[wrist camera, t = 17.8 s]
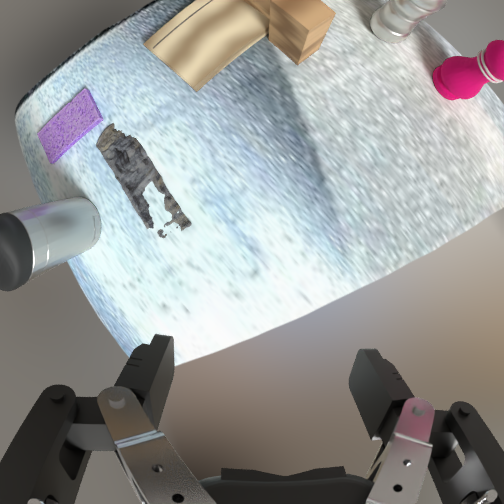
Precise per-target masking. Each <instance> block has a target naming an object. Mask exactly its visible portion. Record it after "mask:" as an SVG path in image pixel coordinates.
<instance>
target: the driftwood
mask: <svg viewBox="0 0 504 504" xmlns="http://www.w3.org/2000/svg"><path fill="white" fill-rule="evenodd" d="M96 146H97V148H98V149H99V150H100V152H101V153H102V155H103V157H104V159H105V160H106V162H107V163H108V165H109V166H110V168H111V169H112V170H113V172H114V174H115V177H116V179H117V180H118V181H119V183H120V184H121V185H122V188H123V190H124V191H125V193H126V195H127V196H128V198H129V200H130V201H131V203H132V205H133V207H134V209H135V210H136V212H137V213H138V215H139V216H140V217H141V218H142V220H143V222H144V224H145V226H146V228H147V229H148V228H153V224H154V223H153V221H152V217H151V216H150V214H149V210H148V208H149V204H148V203H147V202H146V200H145V199H144V196H143V195H142V194H143V192H144V191H145V187H146V186H147V185H148V184H149V183H150V182H151V181H153V183H154V185H155V187H156V188H157V190H158V191H160V192H161V193H162V194H165V198H164V203H165V210H167V211H169V212H170V213H171V214H172V220H171V221H170V222H167V223H166V224H165V225H167V226H168V225H170V224H171V223H173V222H175V223H177V224H179V226H180V227H181V231H182V230H184V229H185V228H186V227H189V226H190V225H191V222H190V221H189V220H188V219H187V218H186V216H185V215H184V214H183V212H182V211H181V208H180V206H179V205H178V204H177V203H176V201H175V200H174V198H173V197H172V195H171V194H170V193H169V191H168V189H167V188H166V186H165V184H164V183H163V179H162V178H161V176H160V175H159V173H158V171H157V170H156V169H155V167H154V165H153V163H152V161H151V160H150V159H149V157H148V156H147V154H146V152H145V150H144V149H143V147H142V146H141V144H140V143H139V142H138V140H137V139H136V138H134V137H131V135H129V136H127V137H126V136H125V134H124V133H122V132H121V131H120V130H118V131H117V130H116V129H114V123H113V124H112V125H110V126H108V128H106V129H105V131H104V132H103V133H102V135H101V136H100V138H99V140H98V142H97V145H96ZM178 211H180V212H179V213H177V212H178ZM165 225H164V227H165ZM177 228H178V227H177ZM157 233H158V234H159V237H162V238H165V237H166V235H167V234H165V236H164V235H162V233H163V230H161V229H160V230H158V232H157Z"/></svg>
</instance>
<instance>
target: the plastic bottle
mask: <svg viewBox="0 0 504 504" xmlns="http://www.w3.org/2000/svg"><path fill="white" fill-rule="evenodd" d="M446 3H447V0H388V1H387V2H386V3H385V4H384V5H383V6H382V7H380V8H379V9H377V10H376V11H375V12H374V13H373V14H372V17H371V20H370V27H371V29H372V31H373V32H374V34H375V35H376V36H377V37H378V38H379V39H381V40H383V41H385V42H388V43H399V42H402V41H404V40H406V39H407V38H408V36H409V35H410V34H411V32H412V30H413V29H414V28H415V26H416V25H417V24H418V23H419V22H420V21H422V20H423V19H425V18H426V17H428V16H429V15H432V14H434V13H436V12H438V11H440V10H441V9H443V8H444V7H445V5H446Z"/></svg>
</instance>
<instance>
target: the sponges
mask: <svg viewBox="0 0 504 504" xmlns="http://www.w3.org/2000/svg"><path fill="white" fill-rule="evenodd" d="M101 121H103V117H102V115H101V113H100V111H99V109H98V107H97V105H96V103H95V101H94V99H93V97H92V95H91V93H90V91H89V90H87V89H86V88H84V89H83V90H82V91H81V92H80V93H79V94H78V95H77V96H76V97H75V98H74V99H72V101H71V102H70V103H68V104H67V105H66V106H64V107H63V109H62V110H60V111H59V112H58V113H57V114H56V115H55V116H54V117H53V118H52V119H51V120H50V121H49V122H48V123H47V124H46V125H45V126H44V127H43V128H42V129H41V130H40V131H39V132H38V133H37V135H38V137H39V139H40V141H41V144H42V146H43V147H44V150H45V153H46V155H47V157H48V160H49V162H50V163H53V164H54V163H55V162H56V161H57V160H58V159H59V158H60V157H61V156H62V155H63V154H64V153H65V152H66V151H67V150H68V149H70V147H72V146H73V145H74V144H75V143H76V142H77V141H78V140H80V139H81V138H82V137H83V136H84V135H85V134H86V133H88V132H89V131H90V130H92V129H93V128H94V127H95V126H97V125H98V124H99V123H100V122H101Z"/></svg>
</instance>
